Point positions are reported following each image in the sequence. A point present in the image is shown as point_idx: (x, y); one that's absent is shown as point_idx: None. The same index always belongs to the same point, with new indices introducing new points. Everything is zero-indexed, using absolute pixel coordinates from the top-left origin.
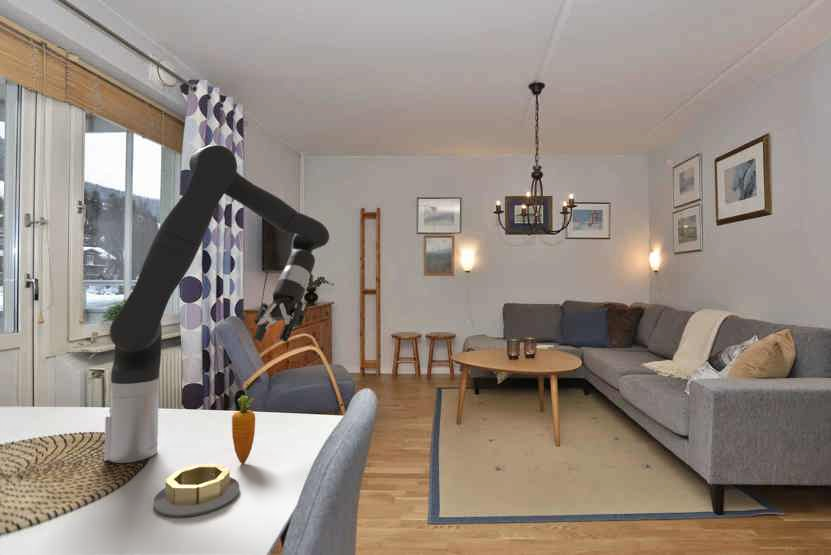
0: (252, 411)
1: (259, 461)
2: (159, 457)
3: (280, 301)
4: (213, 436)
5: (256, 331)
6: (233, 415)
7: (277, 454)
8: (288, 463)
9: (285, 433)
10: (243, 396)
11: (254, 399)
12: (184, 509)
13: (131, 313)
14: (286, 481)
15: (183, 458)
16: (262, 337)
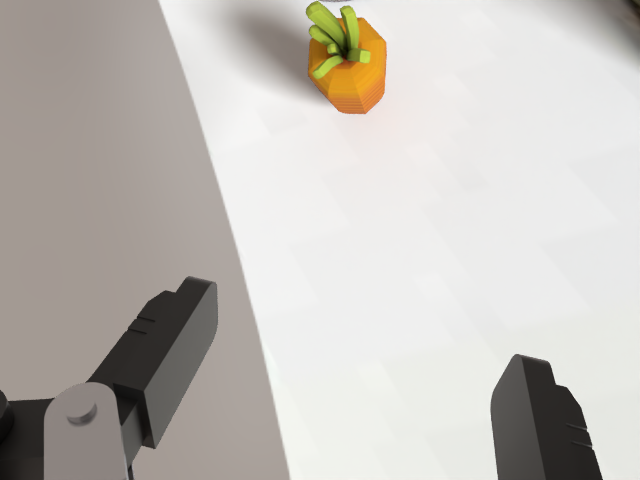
0: (327, 84)
1: (328, 130)
2: (633, 60)
3: None
4: (596, 259)
5: (582, 447)
6: (372, 30)
7: (310, 186)
8: (252, 143)
9: (378, 343)
10: (357, 53)
11: (316, 78)
12: None
13: None
14: (204, 53)
15: (552, 78)
16: (497, 435)
